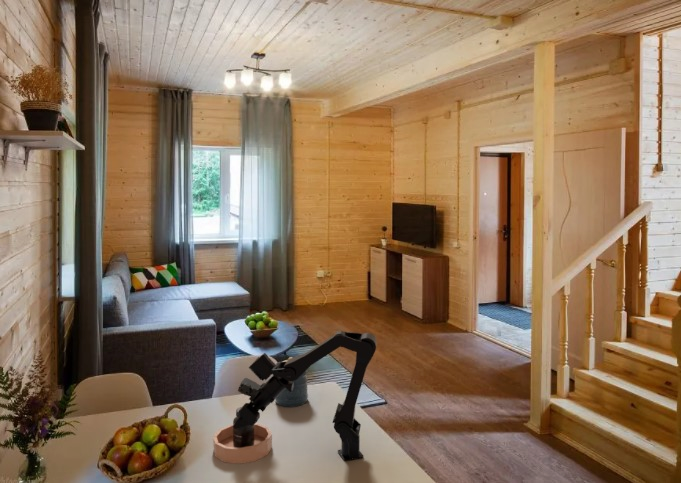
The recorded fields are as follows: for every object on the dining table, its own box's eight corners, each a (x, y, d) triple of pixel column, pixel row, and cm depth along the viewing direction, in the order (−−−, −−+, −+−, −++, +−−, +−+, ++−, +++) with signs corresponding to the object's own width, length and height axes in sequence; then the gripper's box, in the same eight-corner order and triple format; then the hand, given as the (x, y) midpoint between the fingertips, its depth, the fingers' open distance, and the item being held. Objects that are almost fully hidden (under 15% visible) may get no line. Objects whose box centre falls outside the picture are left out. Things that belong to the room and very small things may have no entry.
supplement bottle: (232, 451, 169) (232, 414, 167) (233, 441, 175) (232, 405, 174) (254, 449, 170) (254, 413, 169) (254, 439, 176) (254, 404, 175)
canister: (270, 397, 214) (270, 354, 212) (301, 392, 220) (300, 350, 218) (281, 409, 202) (280, 364, 201) (312, 404, 208) (312, 360, 206)
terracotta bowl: (276, 456, 167) (276, 443, 167) (218, 467, 161) (218, 453, 160) (264, 432, 184) (264, 419, 183) (211, 440, 178) (210, 427, 177)
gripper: (261, 362, 179) (229, 392, 181) (244, 382, 160) (210, 415, 162) (284, 385, 178) (253, 416, 181) (270, 408, 160) (235, 442, 162)
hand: (238, 421), depth 172 cm, fingers open, 9 cm apart
